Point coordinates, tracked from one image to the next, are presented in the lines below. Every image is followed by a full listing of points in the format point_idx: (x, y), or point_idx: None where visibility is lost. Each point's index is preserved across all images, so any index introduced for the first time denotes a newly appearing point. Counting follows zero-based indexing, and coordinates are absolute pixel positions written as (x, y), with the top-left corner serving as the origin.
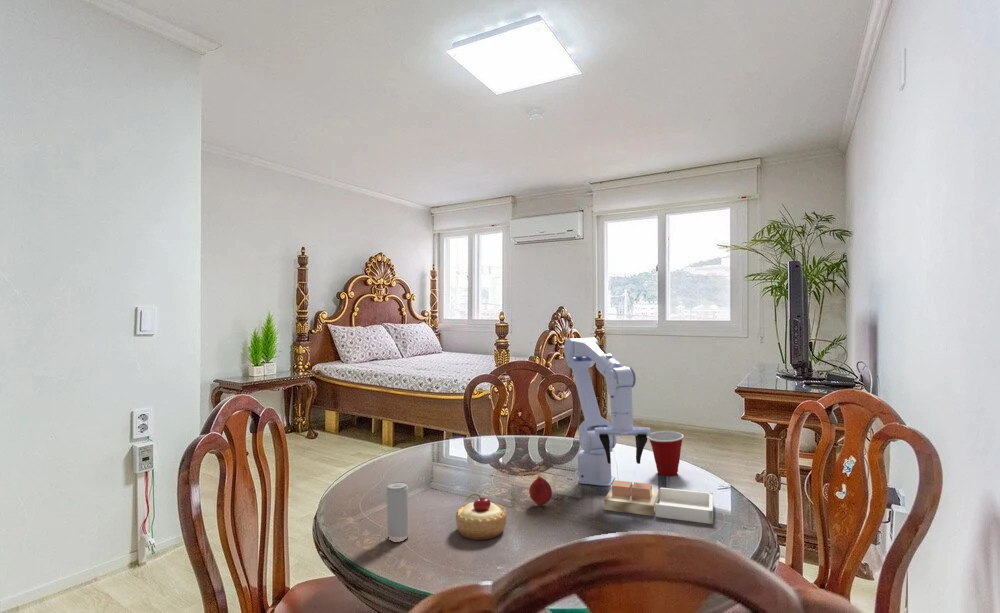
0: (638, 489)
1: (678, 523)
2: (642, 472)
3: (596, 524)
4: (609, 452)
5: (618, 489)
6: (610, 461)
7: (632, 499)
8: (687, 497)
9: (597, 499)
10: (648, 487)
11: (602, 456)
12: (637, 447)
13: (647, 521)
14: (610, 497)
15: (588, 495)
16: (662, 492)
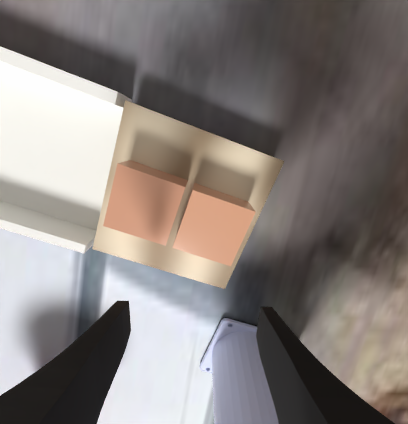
0: (160, 177)
1: (67, 40)
2: (126, 398)
3: (330, 32)
4: (289, 353)
5: (231, 200)
6: (265, 312)
7: (189, 162)
8: (16, 212)
9: (275, 236)
10: (119, 188)
11: (252, 417)
12: (83, 393)
13: (162, 59)
14: (258, 181)
15: (292, 263)
16: (85, 237)
